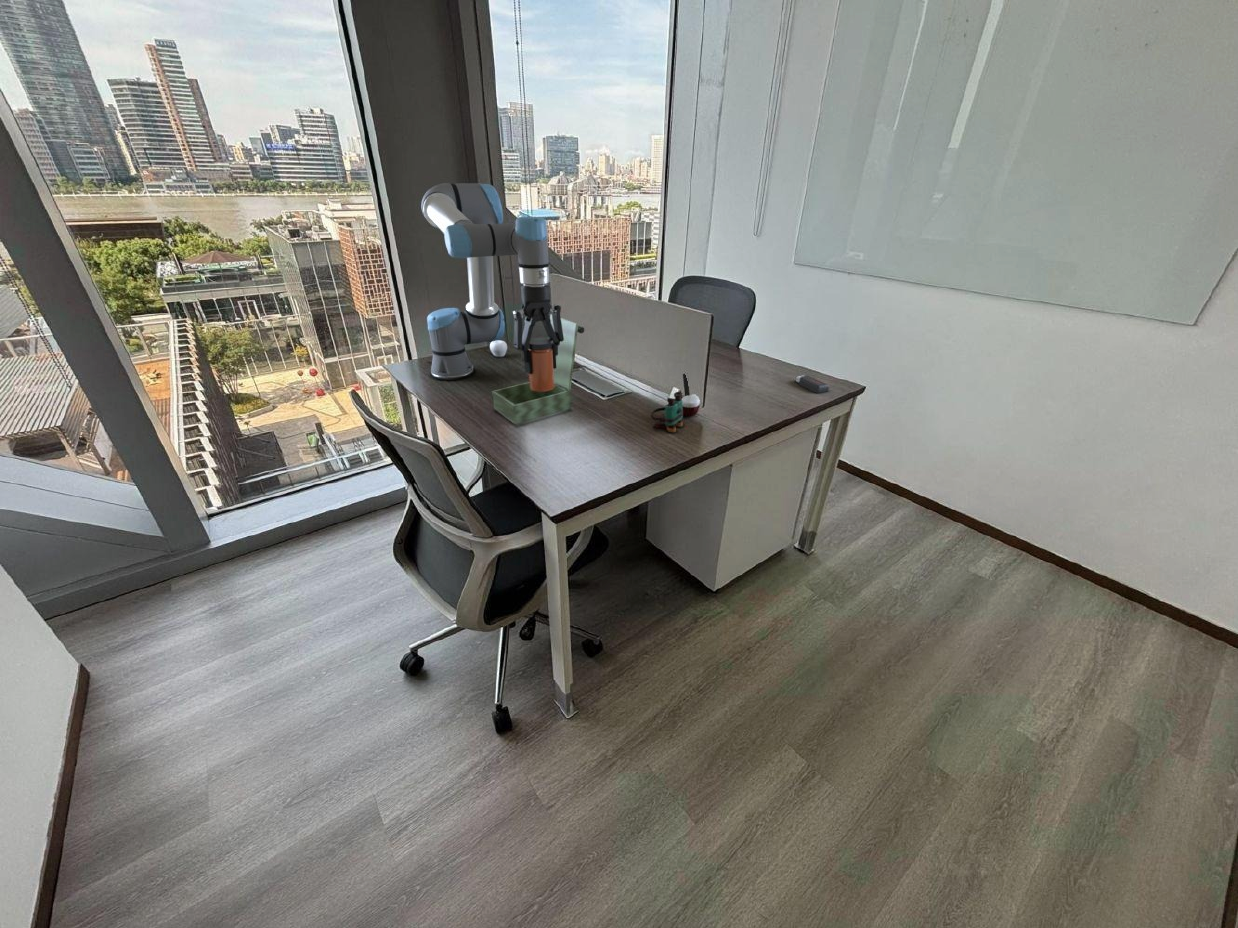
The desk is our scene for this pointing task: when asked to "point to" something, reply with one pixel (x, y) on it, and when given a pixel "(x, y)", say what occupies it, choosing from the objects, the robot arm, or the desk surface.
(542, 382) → the jar
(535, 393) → the chest
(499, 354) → the plain white apple
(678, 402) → the binoculars
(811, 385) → the usb drive
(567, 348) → the lid
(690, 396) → the rice bowl with chopsticks
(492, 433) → the desk surface
